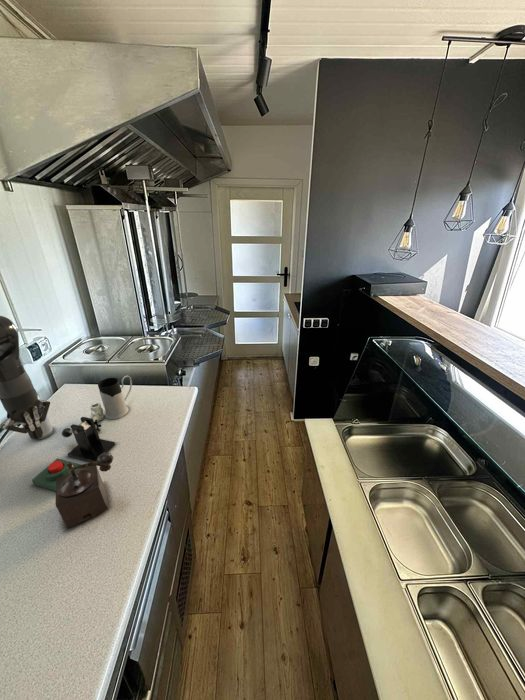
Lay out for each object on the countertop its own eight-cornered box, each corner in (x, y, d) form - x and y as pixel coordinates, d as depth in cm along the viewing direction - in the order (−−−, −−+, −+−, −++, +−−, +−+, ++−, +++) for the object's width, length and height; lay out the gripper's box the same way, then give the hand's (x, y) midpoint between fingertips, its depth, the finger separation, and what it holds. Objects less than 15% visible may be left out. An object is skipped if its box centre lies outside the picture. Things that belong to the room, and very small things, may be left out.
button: (47, 472, 89) (45, 468, 88) (57, 463, 92) (55, 459, 91) (56, 474, 88) (54, 470, 87) (66, 465, 91) (64, 461, 90)
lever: (63, 440, 101) (57, 433, 100) (71, 433, 104) (65, 427, 103) (84, 432, 95) (78, 424, 95) (92, 426, 98) (86, 418, 97)
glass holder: (101, 415, 120) (91, 385, 113) (129, 397, 131) (122, 369, 124) (114, 421, 116) (105, 390, 109) (143, 402, 127) (135, 373, 120)
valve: (91, 416, 119) (84, 436, 108) (87, 403, 116) (79, 422, 106) (109, 413, 120) (103, 432, 110) (105, 400, 118) (99, 418, 107)
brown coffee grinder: (66, 531, 76) (41, 485, 68) (65, 500, 84) (43, 455, 76) (128, 502, 83) (112, 457, 75) (121, 475, 92) (107, 432, 84)
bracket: (68, 456, 99) (55, 428, 94) (88, 438, 107) (78, 411, 102) (96, 463, 96) (85, 434, 91) (115, 444, 104) (106, 416, 99)
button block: (34, 485, 89) (29, 476, 87) (59, 462, 97) (55, 454, 95) (61, 493, 86) (57, 483, 85) (85, 469, 94) (82, 460, 92)
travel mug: (30, 441, 106) (8, 397, 98) (38, 429, 112) (18, 387, 103) (48, 439, 107) (28, 395, 99) (56, 427, 113) (37, 384, 105)
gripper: (28, 375, 84) (48, 421, 92) (-22, 401, 73) (5, 451, 80) (48, 378, 82) (67, 425, 90) (-1, 405, 71) (25, 456, 79)
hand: (37, 437), depth 85 cm, fingers closed
